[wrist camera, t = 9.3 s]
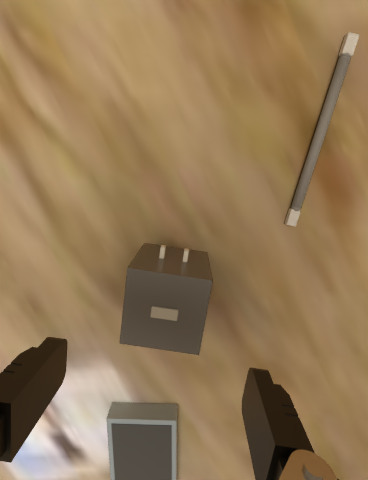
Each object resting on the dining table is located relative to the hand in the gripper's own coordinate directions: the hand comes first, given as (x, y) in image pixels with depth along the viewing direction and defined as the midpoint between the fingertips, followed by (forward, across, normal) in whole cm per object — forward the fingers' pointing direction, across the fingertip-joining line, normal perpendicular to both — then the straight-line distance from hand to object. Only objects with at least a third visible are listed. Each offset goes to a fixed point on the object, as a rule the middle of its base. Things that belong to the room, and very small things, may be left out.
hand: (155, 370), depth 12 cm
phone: (+11, 0, +18) cm, 21 cm away
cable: (+11, -9, -12) cm, 18 cm away
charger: (+11, 0, 0) cm, 11 cm away
